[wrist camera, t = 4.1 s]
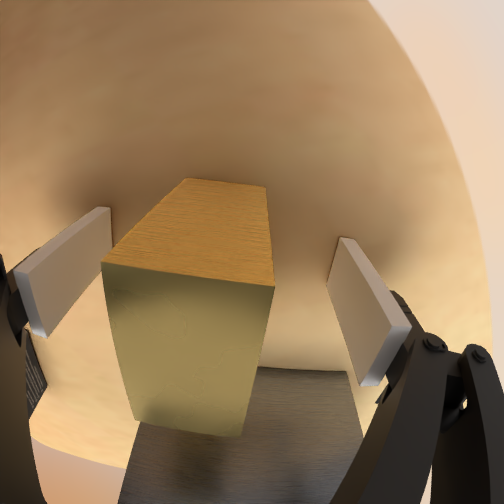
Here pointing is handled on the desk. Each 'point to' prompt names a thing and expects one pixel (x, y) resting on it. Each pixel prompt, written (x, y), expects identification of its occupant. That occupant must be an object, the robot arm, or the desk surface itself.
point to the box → (33, 378)
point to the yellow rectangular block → (192, 305)
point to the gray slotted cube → (255, 448)
